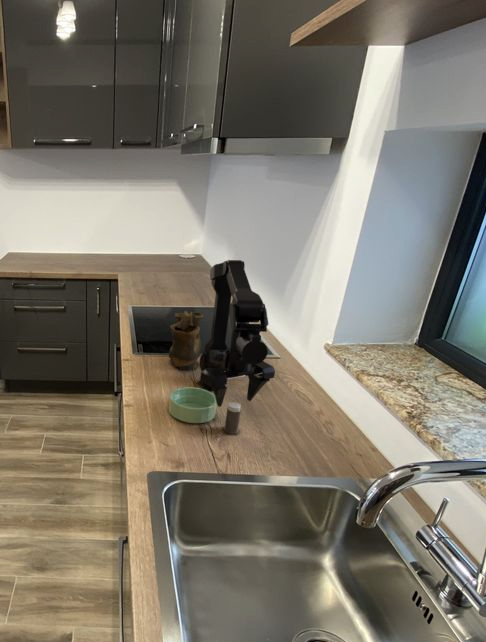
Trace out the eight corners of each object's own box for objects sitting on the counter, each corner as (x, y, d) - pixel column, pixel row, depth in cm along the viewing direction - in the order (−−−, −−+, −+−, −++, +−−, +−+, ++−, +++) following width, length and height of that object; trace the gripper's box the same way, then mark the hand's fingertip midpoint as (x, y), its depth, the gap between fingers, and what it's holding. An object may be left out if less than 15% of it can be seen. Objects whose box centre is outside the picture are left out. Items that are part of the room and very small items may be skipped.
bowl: (199, 399, 136) (201, 384, 134) (224, 420, 125) (226, 404, 123) (160, 406, 132) (161, 391, 130) (183, 428, 121) (184, 412, 119)
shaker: (232, 426, 122) (236, 400, 118) (240, 433, 119) (244, 407, 115) (221, 428, 121) (224, 402, 117) (229, 435, 117) (232, 409, 114)
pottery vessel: (196, 381, 147) (201, 324, 139) (163, 377, 150) (166, 321, 142) (201, 353, 169) (206, 303, 161) (173, 350, 172) (177, 300, 164)
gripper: (252, 333, 120) (245, 384, 126) (192, 341, 114) (187, 395, 120) (281, 347, 110) (271, 402, 116) (216, 357, 104) (209, 414, 111)
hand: (234, 403), depth 116 cm, fingers open, 9 cm apart
